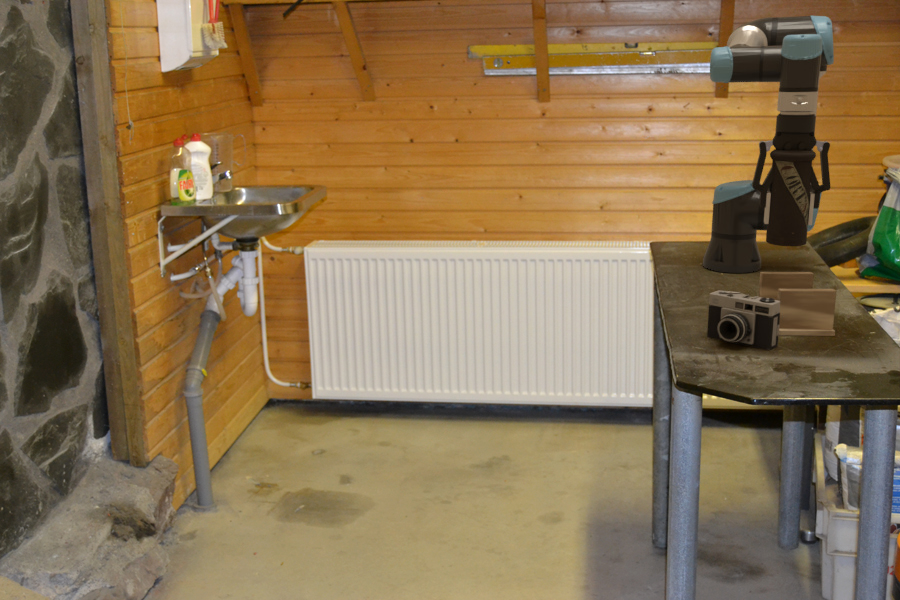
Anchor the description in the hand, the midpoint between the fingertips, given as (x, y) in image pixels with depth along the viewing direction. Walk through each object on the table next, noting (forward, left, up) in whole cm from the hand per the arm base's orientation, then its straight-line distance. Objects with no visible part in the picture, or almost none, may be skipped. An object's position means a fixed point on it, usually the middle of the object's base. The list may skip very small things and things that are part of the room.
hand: (787, 223), depth 187 cm
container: (0, 0, -4) cm, 4 cm away
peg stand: (+1, +3, -21) cm, 22 cm away
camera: (+16, -13, -22) cm, 30 cm away
